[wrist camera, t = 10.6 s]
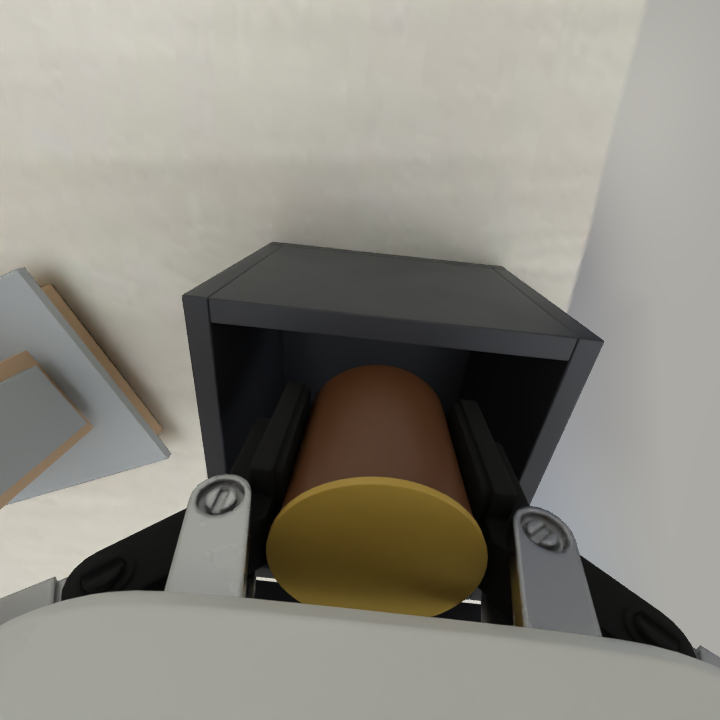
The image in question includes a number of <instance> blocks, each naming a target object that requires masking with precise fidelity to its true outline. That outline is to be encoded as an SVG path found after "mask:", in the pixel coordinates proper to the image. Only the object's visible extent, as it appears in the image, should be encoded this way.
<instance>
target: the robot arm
mask: <svg viewBox="0 0 720 720" xmlns="http://www.w3.org/2000/svg"><path fill="white" fill-rule="evenodd" d="M310 403H311V388H309V387H305V383H302V382H293V381H288V382H287V384H286V387H285V389H284V391H283V393H282V396H281V398H280V400H279V402H278V404H277V407H276V409H275V411H274V413H273V416H272V418H265V417H259V418H257V420H256V421H255V423H254V425H253V427H252V429H251V431H250V433H249V435H248V437H247V439H246V441H245V443H244V445H243V447H242V449H241V451H240V453H239V455H238V457H237V459H236V461H235V463H234V465H233V467H232V469H231V470H230V472H229V474H222V475H217V476H214V477H211V478H209V479H206V480H205V481H203V482H202V483H201V484H199V485H198V486H197V487H196V488H195V489H194V491H193V492H192V494H191V496H190V498H189V502H188V505H187V508H186V509H184V510H182V511H180V512H178V513H176V514H174V515H172V516H170V517H168V518H166V519H164V520H162V521H160V522H157V523H155V524H153V525H151V526H149V527H147V528H145V529H143V530H141V531H139V532H137V533H135V534H133V535H131V536H129V537H127V538H125V539H123V540H121V541H119V542H117V543H115V544H113V545H110V546H108V547H106V548H104V549H102V550H100V551H98V552H96V553H95V554H93V555H91V556H90V557H88V558H86V559H85V560H84V561H83V562H82V563H80V564H79V565H78V566H77V567H76V568H75V569H74V570H73V571H72V573H71V574H70V575H69V577H67V578H64V579H62V580H60V581H57V579H56V577H53V578H51V579H48V580H46V581H43V582H41V583H38V584H36V585H33V586H31V587H28V588H26V589H23V590H21V591H18V592H16V593H13V594H11V595H8V596H6V597H3V598H1V599H0V720H720V657H718V656H717V655H715V654H713V653H712V652H710V651H709V650H707V649H705V648H704V647H702V646H699V647H698V648H697V649H695V648H693V647H692V645H691V644H690V642H689V641H688V639H687V638H686V636H685V635H684V633H683V632H682V631H681V630H680V629H679V628H678V627H677V626H676V625H675V623H673V622H672V621H671V620H670V619H669V618H668V617H667V616H665V615H664V614H663V613H662V612H660V611H659V610H657V609H656V608H654V607H653V606H651V605H650V604H649V603H648V602H646V601H645V600H643V599H642V598H640V597H639V596H637V595H636V594H635V593H633V592H632V591H630V590H628V588H626V587H625V586H623V585H622V584H620V583H619V582H618V581H616V580H615V579H613V578H612V577H611V576H609V575H608V574H606V573H605V572H603V571H602V570H601V569H599V568H598V567H596V566H595V565H593V564H592V563H591V562H589V561H588V560H586V559H585V558H583V557H582V556H580V554H579V551H578V547H577V543H576V540H575V538H574V535H573V533H572V531H571V530H570V529H569V527H568V526H567V525H566V524H565V523H564V522H563V521H562V520H561V519H560V518H559V517H557V516H556V515H554V514H552V513H551V512H549V511H547V510H544V509H542V508H539V507H533V506H530V505H529V503H528V501H527V499H526V497H525V495H524V492H523V490H522V488H521V486H520V484H519V481H518V479H517V477H516V475H515V473H514V471H513V468H512V466H511V464H510V462H509V460H508V458H507V455H506V453H505V451H504V449H503V447H502V445H501V444H500V443H498V442H494V440H493V437H492V435H491V433H490V431H489V428H488V426H487V424H486V421H485V419H484V417H483V415H482V412H481V410H480V408H479V405H478V403H477V402H476V401H471V400H462V399H459V400H458V401H457V403H452V404H451V407H450V411H449V415H448V418H447V425H448V428H449V432H450V435H451V439H452V443H453V446H454V450H455V453H456V457H457V461H458V464H459V468H460V471H461V475H462V478H463V482H464V486H465V489H466V493H467V496H468V500H469V504H470V507H471V511H472V514H473V518H474V519H475V520H476V522H477V524H478V525H479V527H480V529H481V531H482V534H483V537H484V540H485V543H486V546H487V554H488V560H487V568H486V571H485V574H484V577H483V578H482V580H481V582H480V584H479V585H478V588H479V589H480V590H481V591H482V593H481V623H480V622H471V621H462V620H453V619H444V618H435V617H425V616H416V615H407V614H397V613H388V612H379V611H369V610H360V609H350V608H341V607H331V606H321V605H311V604H301V603H291V602H282V601H272V600H262V599H255V587H256V570H257V569H259V568H260V567H262V566H263V565H265V564H266V563H268V562H267V557H266V542H267V538H268V534H269V531H270V528H271V526H272V524H273V522H274V520H275V518H276V516H277V515H278V514H279V513H280V511H281V507H282V504H283V501H284V497H285V494H286V491H287V487H288V484H289V480H290V477H291V474H292V470H293V467H294V464H295V460H296V457H297V453H298V450H299V447H300V443H301V440H302V437H303V433H304V430H305V427H306V423H307V420H308V416H309V413H310Z"/></svg>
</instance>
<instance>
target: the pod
mask: <svg viewBox="0 0 720 720" xmlns="http://www.w3.org/2000/svg"><path fill="white" fill-rule="evenodd" d="M266 557H267V562H268V565H269V568H270V571H271V572H272V574H273V576H274V578H275V579H276V581H277V582H278V583H279V584H280V586H281V587H282V588H283V589H284V590H285V591H286V592H287V593H288V594H290V595H291V596H292V597H294V598H295V599H296V600H298V601H299V602H301V603H302V604H311V605H321V606H331V607H341V608H350V609H360V610H369V611H379V612H388V613H397V614H407V615H416V616H425V617H432V616H435V615H438V614H440V613H443V612H445V611H447V610H449V609H451V608H453V607H455V606H456V605H458V604H459V603H461V602H462V601H464V600H465V599H466V598H467V597H468V596H469V595H470V594H472V593H473V592H474V590H475V589H476V588H477V587H478V585H479V584H480V582H481V580H482V578H483V577H484V574H485V571H486V568H487V560H488V554H487V546H486V543H485V540H484V537H483V534H482V531H481V529H480V527H479V525H478V524H477V522H476V520H475V519H474V518H473V514H472V511H471V507H470V504H469V500H468V496H467V493H466V489H465V486H464V482H463V478H462V475H461V471H460V468H459V464H458V461H457V457H456V453H455V450H454V446H453V443H452V439H451V435H450V432H449V428H448V425H447V421H446V417H445V414H444V410H443V407H442V404H441V402H440V400H439V398H438V396H437V394H436V393H435V392H434V390H433V389H432V388H431V387H430V386H429V385H428V384H427V383H426V382H425V381H423V380H422V379H421V378H419V377H418V376H416V375H414V374H413V373H411V372H408V371H406V370H404V369H400V368H397V367H393V366H387V365H365V366H360V367H355V368H352V369H349V370H347V371H344V372H342V373H340V374H338V375H337V376H335V377H333V378H332V379H331V380H329V381H328V382H327V383H326V384H325V385H324V386H323V387H322V388H321V389H320V390H319V392H318V393H317V395H316V397H315V399H314V401H313V403H312V406H311V410H310V413H309V416H308V420H307V423H306V427H305V430H304V433H303V437H302V440H301V443H300V447H299V450H298V453H297V457H296V460H295V464H294V467H293V470H292V474H291V477H290V480H289V484H288V487H287V491H286V494H285V497H284V501H283V504H282V507H281V511H280V513H279V514H278V515H277V516H276V518H275V520H274V522H273V524H272V526H271V528H270V531H269V534H268V538H267V542H266Z"/></svg>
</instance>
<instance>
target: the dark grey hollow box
mask: <svg viewBox="0 0 720 720" xmlns="http://www.w3.org/2000/svg"><path fill="white" fill-rule="evenodd" d="M182 301H183V308H184V315H185V322H186V329H187V336H188V343H189V350H190V356H191V363H192V370H193V377H194V384H195V391H196V398H197V405H198V412H199V419H200V426H201V433H202V440H203V447H204V454H205V461H206V468H207V475H208V479H209V478H211V477H214V476H217V475H222V474H229V472H230V470H231V469H232V467H233V465H234V463H235V461H236V459H237V457H238V455H239V453H240V451H241V449H242V447H243V445H244V443H245V441H246V439H247V437H248V435H249V433H250V431H251V429H252V427H253V425H254V423H255V421H256V420H257V418H259V417H265V418H272V416H273V413H274V411H275V409H276V407H277V404H278V402H279V400H280V398H281V396H282V393H283V391H284V389H285V387H286V384H287V382H288V381H293V382H302V383H305V387H309V388H311V403H310V410H311V406H312V403H313V401H314V399H315V397H316V395H317V393H318V392H319V390H320V389H321V388H322V387H323V386H324V385H325V384H326V383H327V382H328V381H329V380H331V379H332V378H333V377H335V376H337V375H338V374H340V373H342V372H344V371H347V370H349V369H352V368H355V367H360V366H365V365H387V366H393V367H397V368H400V369H404V370H406V371H408V372H411V373H413V374H414V375H416V376H418V377H419V378H421V379H422V380H423V381H425V382H426V383H427V384H428V385H429V386H430V387H431V388H432V389H433V390H434V392H435V393H436V394H437V396H438V398H439V400H440V402H441V404H442V407H443V410H444V414H445V417H446V421H447V418H448V415H449V411H450V407H451V404H452V403H457V401H458V400H459V399H462V400H471V401H476V402H477V403H478V405H479V408H480V410H481V412H482V415H483V417H484V419H485V421H486V424H487V426H488V428H489V431H490V433H491V435H492V437H493V440H494V442H498V443H500V444H501V445H502V447H503V449H504V451H505V453H506V455H507V458H508V460H509V462H510V464H511V466H512V468H513V471H514V473H515V475H516V477H517V479H518V481H519V484H520V486H521V488H522V490H523V492H524V495H525V497H526V499H527V501H528V503H529V505H530V503H531V501H532V498H533V496H534V494H535V492H536V490H537V488H538V485H539V483H540V481H541V479H542V476H543V475H544V472H545V470H546V468H547V466H548V464H549V462H550V459H551V457H552V455H553V452H554V450H555V448H556V446H557V444H558V442H559V440H560V437H561V435H562V433H563V431H564V428H565V426H566V424H567V422H568V420H569V418H570V416H571V413H572V411H573V409H574V407H575V405H576V402H577V400H578V398H579V396H580V394H581V391H582V389H583V387H584V385H585V383H586V380H587V378H588V376H589V374H590V372H591V370H592V367H593V365H594V363H595V361H596V358H597V356H598V354H599V352H600V350H601V348H602V345H603V343H604V340H602V339H601V338H600V337H598V336H597V335H595V334H594V333H593V332H591V331H590V330H589V329H587V328H586V327H584V326H583V325H582V324H580V323H579V322H578V321H576V320H575V319H573V318H572V317H571V316H569V315H568V314H567V313H565V312H564V311H562V310H561V309H560V308H558V307H557V306H556V305H554V304H553V303H551V302H550V301H549V300H547V299H546V298H545V297H543V296H542V295H540V294H539V293H538V292H536V291H535V290H534V289H532V288H531V287H529V286H528V285H527V284H525V283H524V282H523V281H521V280H520V279H518V278H517V277H516V276H514V275H513V274H512V273H510V272H509V271H507V270H506V269H505V268H504V267H501V266H492V265H482V264H473V263H464V262H454V261H445V260H436V259H426V258H417V257H408V256H399V255H389V254H380V253H371V252H361V251H352V250H343V249H333V248H324V247H315V246H305V245H296V244H287V243H278V242H271V243H269V244H268V245H266V246H264V247H263V248H261V249H259V250H258V251H256V252H254V253H253V254H251V255H249V256H248V257H246V258H244V259H243V260H241V261H239V262H237V263H236V264H234V265H232V266H231V267H229V268H227V269H226V270H224V271H222V272H221V273H219V274H217V275H216V276H214V277H212V278H211V279H209V280H207V281H205V282H204V283H202V284H200V285H199V286H197V287H195V288H194V289H192V290H190V291H189V292H187V293H185V294H184V295H182ZM256 577H265V578H274V576H273V574H272V572H271V571H270V568H269V565H268V563H266V564H265V565H263V566H262V567H260V568H259V569H257V570H256ZM274 579H275V578H274ZM481 593H482V591H481V590H480V589H479V588H478V587H477V588H476V589H475V590H474V592H473V593H472V594H470V595H469V596H468V597H467V598H466V599H467V600H468V599H470V600H478V601H481Z"/></svg>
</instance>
